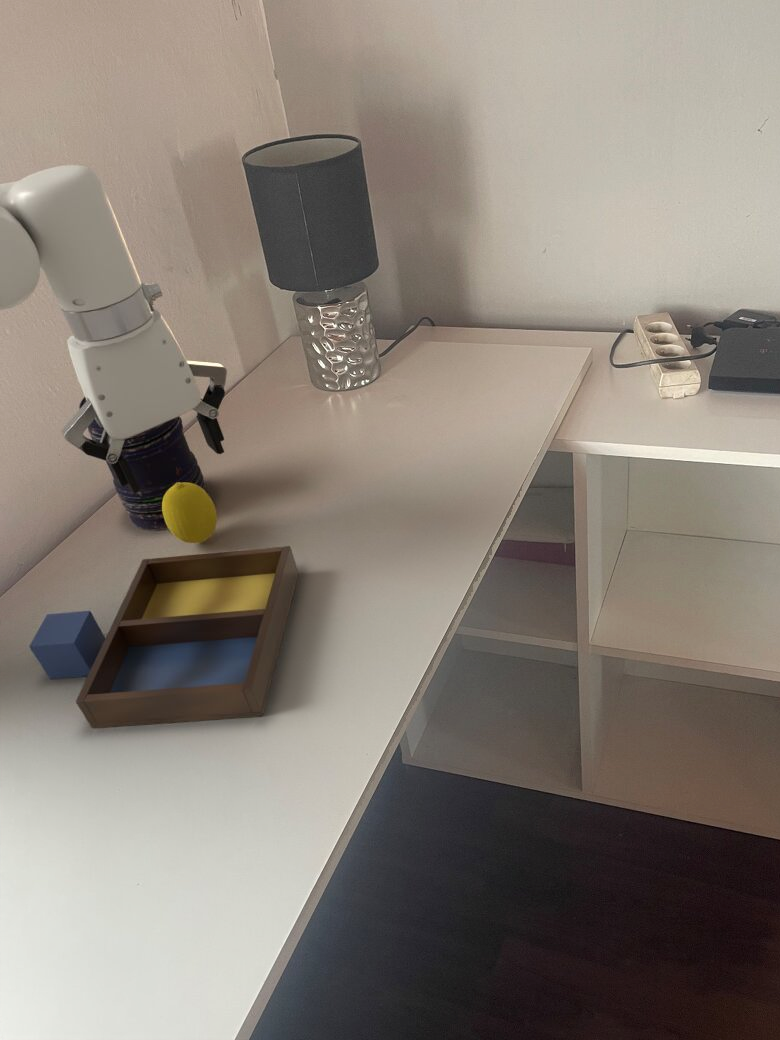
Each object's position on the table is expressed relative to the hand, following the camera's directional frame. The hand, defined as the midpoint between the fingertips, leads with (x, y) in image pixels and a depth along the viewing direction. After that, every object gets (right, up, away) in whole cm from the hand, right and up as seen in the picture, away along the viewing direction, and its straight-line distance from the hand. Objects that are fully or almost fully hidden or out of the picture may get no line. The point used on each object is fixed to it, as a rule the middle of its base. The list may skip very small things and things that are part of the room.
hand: (175, 468), depth 92 cm
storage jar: (-5, -3, +13) cm, 14 cm away
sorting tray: (+5, -18, -7) cm, 20 cm away
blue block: (-7, -20, -6) cm, 22 cm away
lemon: (+1, -8, +6) cm, 10 cm away
